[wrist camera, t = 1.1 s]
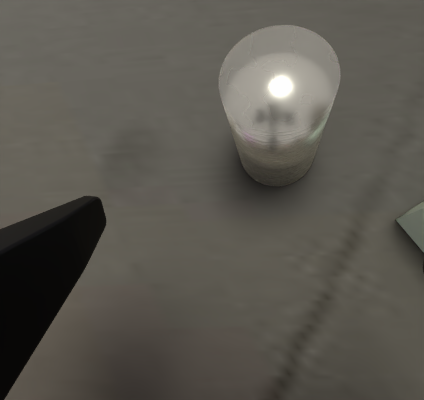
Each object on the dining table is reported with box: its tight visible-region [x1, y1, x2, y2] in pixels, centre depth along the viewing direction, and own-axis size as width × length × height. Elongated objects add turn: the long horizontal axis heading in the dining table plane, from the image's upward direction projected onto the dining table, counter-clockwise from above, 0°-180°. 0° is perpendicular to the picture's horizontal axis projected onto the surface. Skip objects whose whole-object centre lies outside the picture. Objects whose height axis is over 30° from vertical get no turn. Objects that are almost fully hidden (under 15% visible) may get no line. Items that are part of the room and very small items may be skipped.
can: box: [219, 25, 340, 186], centre depth 18 cm, size 5×5×9 cm
